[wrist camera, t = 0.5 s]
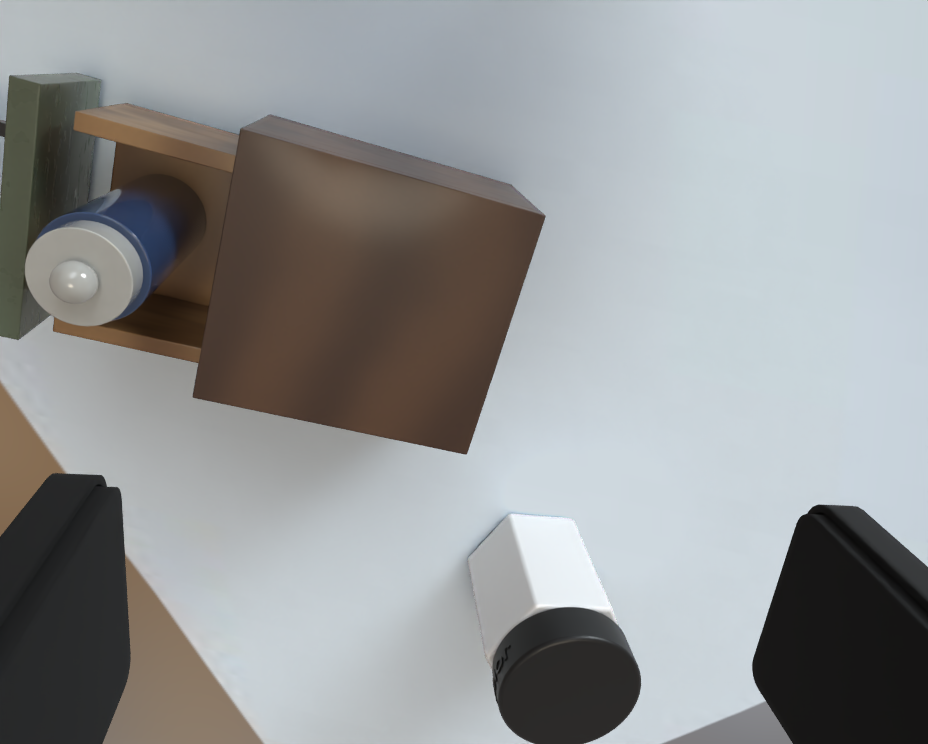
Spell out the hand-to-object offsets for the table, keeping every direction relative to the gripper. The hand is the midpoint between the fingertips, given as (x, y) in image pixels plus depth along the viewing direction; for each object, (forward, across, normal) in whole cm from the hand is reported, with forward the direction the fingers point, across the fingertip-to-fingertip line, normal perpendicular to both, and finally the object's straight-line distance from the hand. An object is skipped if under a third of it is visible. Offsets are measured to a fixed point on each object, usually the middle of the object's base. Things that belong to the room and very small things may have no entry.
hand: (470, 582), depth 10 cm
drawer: (+33, +13, +2) cm, 36 cm away
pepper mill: (+32, +12, +2) cm, 34 cm away
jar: (+34, -11, +24) cm, 43 cm away
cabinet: (+34, +1, +4) cm, 34 cm away
